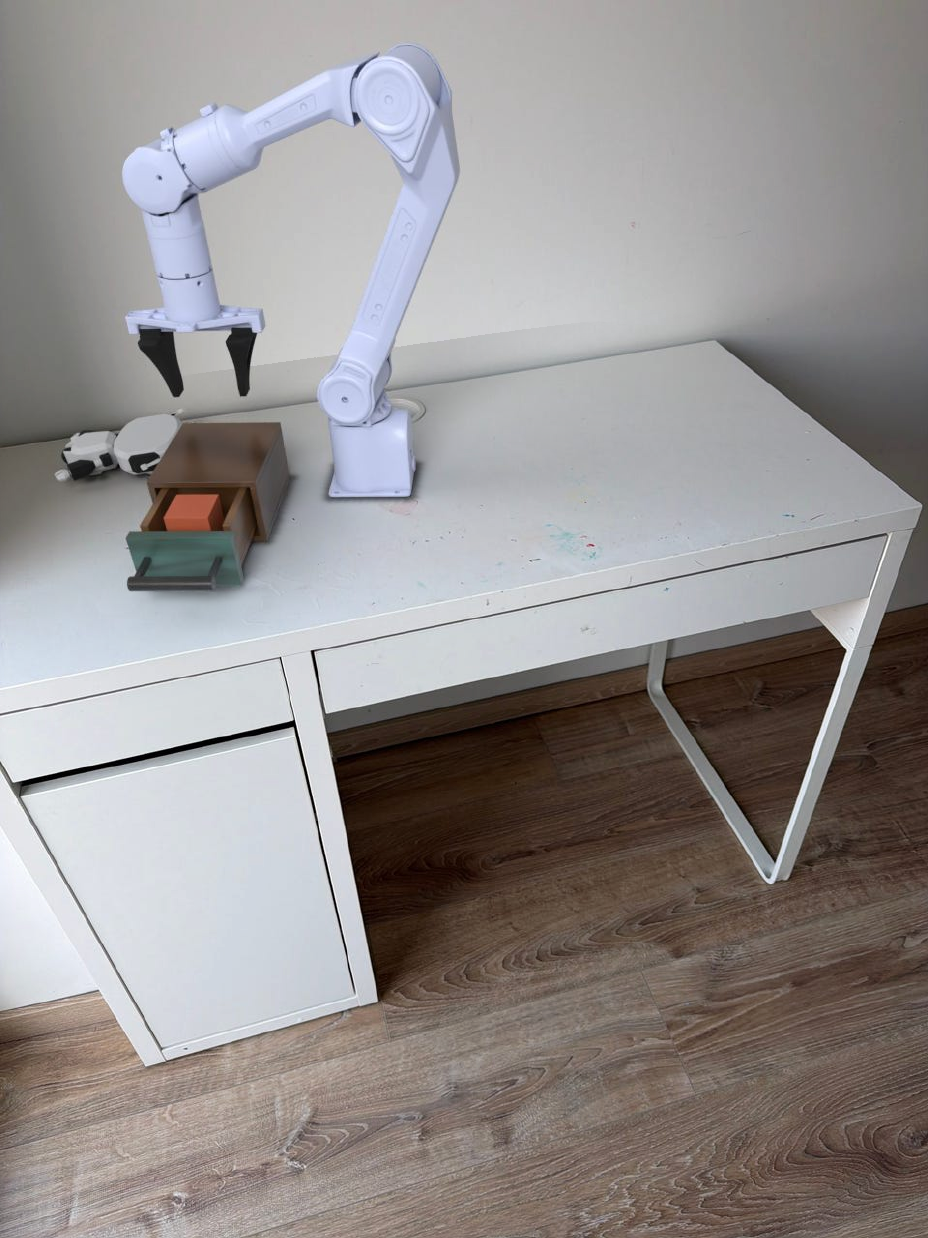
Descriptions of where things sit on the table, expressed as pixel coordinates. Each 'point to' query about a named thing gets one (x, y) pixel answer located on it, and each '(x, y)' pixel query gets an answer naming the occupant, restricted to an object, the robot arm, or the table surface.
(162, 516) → the drawer
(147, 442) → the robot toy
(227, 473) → the cabinet
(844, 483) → the table surface
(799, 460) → the table surface
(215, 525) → the block
